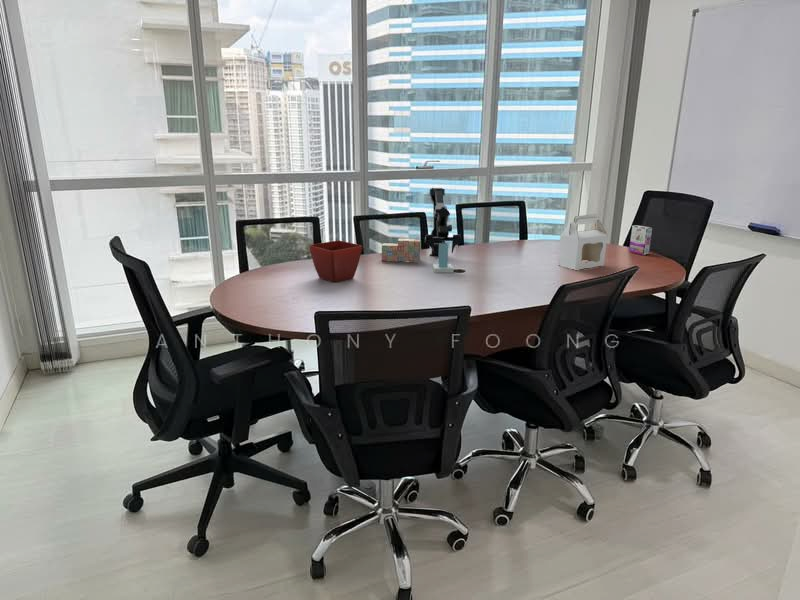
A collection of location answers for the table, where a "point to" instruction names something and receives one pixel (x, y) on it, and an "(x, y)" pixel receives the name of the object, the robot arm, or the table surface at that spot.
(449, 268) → the base tile
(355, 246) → the plant pot
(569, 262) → the gable box
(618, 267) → the table surface
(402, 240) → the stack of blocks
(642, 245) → the candy bar box
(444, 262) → the teal pillar
